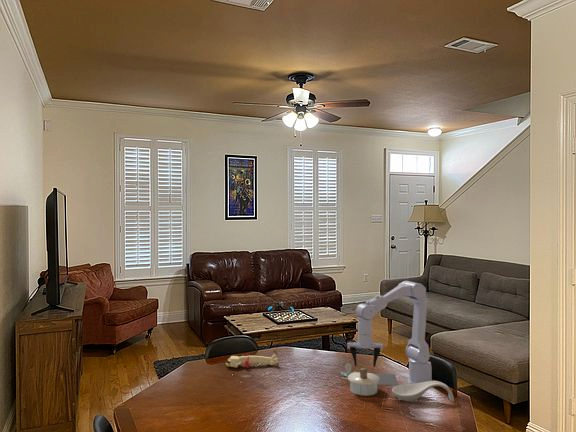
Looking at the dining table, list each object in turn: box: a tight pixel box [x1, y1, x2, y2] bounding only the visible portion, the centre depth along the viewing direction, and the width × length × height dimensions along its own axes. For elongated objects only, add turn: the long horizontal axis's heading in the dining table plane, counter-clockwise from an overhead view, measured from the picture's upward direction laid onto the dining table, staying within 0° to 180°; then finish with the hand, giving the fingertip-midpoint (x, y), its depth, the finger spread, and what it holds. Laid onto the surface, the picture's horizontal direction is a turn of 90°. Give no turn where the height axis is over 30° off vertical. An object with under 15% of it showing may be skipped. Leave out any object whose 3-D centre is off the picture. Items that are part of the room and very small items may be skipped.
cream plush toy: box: [225, 349, 279, 369], centre depth 226 cm, size 10×9×25 cm
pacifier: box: [339, 362, 357, 380], centre depth 210 cm, size 7×6×6 cm
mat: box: [370, 372, 399, 386], centre depth 207 cm, size 14×14×1 cm
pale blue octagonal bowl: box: [349, 381, 378, 396], centre depth 194 cm, size 11×11×5 cm
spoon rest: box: [391, 380, 455, 403], centre depth 186 cm, size 24×12×7 cm, turn 86°
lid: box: [347, 367, 380, 385], centre depth 194 cm, size 13×13×4 cm
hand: (365, 365), depth 195 cm, fingers open, 7 cm apart
